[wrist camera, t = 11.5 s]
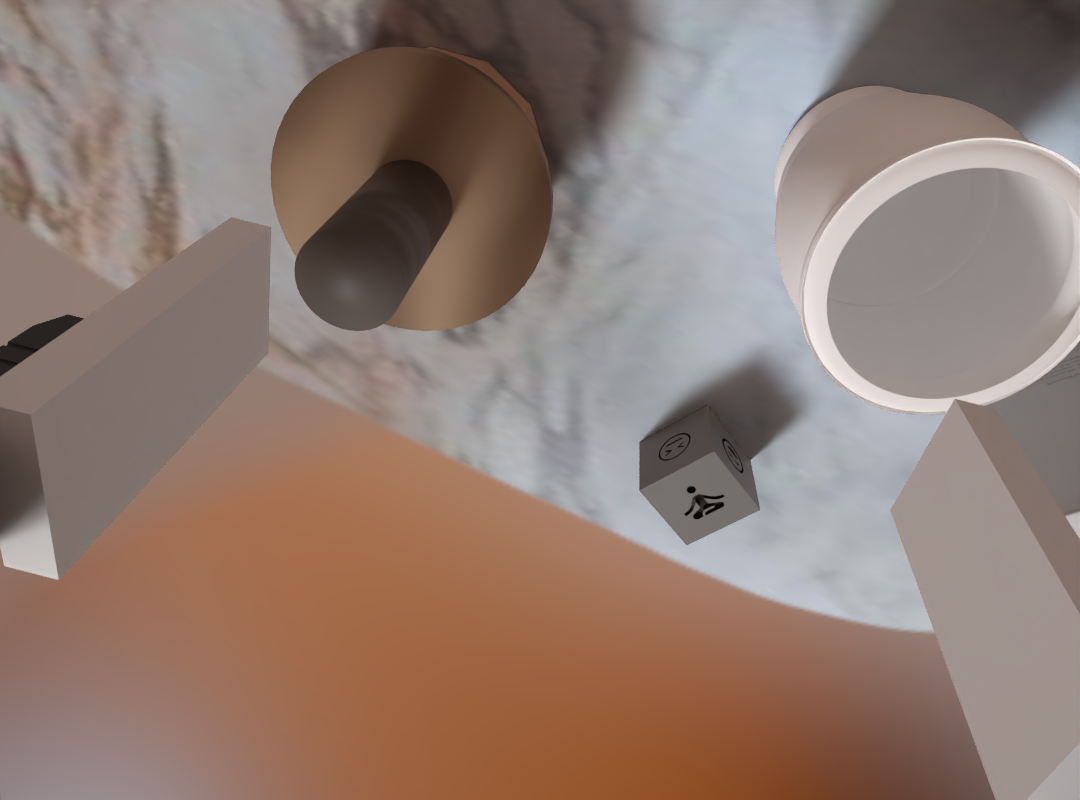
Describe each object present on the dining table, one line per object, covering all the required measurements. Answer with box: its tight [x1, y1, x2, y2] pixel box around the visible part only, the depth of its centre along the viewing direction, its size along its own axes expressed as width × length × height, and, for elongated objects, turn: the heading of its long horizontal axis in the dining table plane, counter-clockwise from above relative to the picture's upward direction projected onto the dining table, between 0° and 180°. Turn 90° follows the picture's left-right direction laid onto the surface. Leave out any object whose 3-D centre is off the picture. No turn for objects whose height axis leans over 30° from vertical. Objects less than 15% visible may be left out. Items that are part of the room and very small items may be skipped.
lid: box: [271, 46, 553, 331], centre depth 34 cm, size 13×13×10 cm
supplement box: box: [985, 341, 1080, 538], centre depth 41 cm, size 7×7×13 cm
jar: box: [774, 86, 1080, 415], centre depth 35 cm, size 11×10×15 cm
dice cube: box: [640, 405, 760, 545], centre depth 49 cm, size 5×5×5 cm
